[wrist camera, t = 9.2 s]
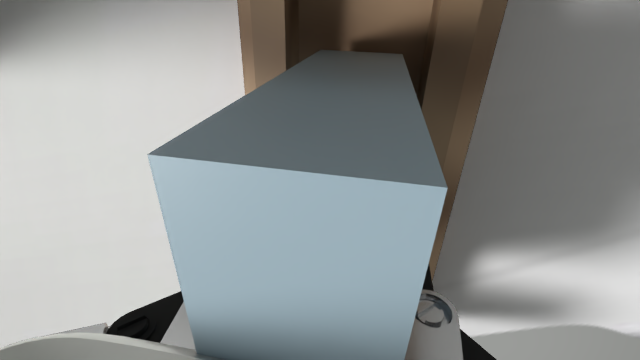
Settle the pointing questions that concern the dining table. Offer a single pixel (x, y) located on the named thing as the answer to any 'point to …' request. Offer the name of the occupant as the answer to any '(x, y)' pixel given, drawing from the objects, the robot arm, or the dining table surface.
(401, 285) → the door panel
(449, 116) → the base
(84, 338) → the robot arm
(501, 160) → the dining table surface
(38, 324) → the dining table surface
